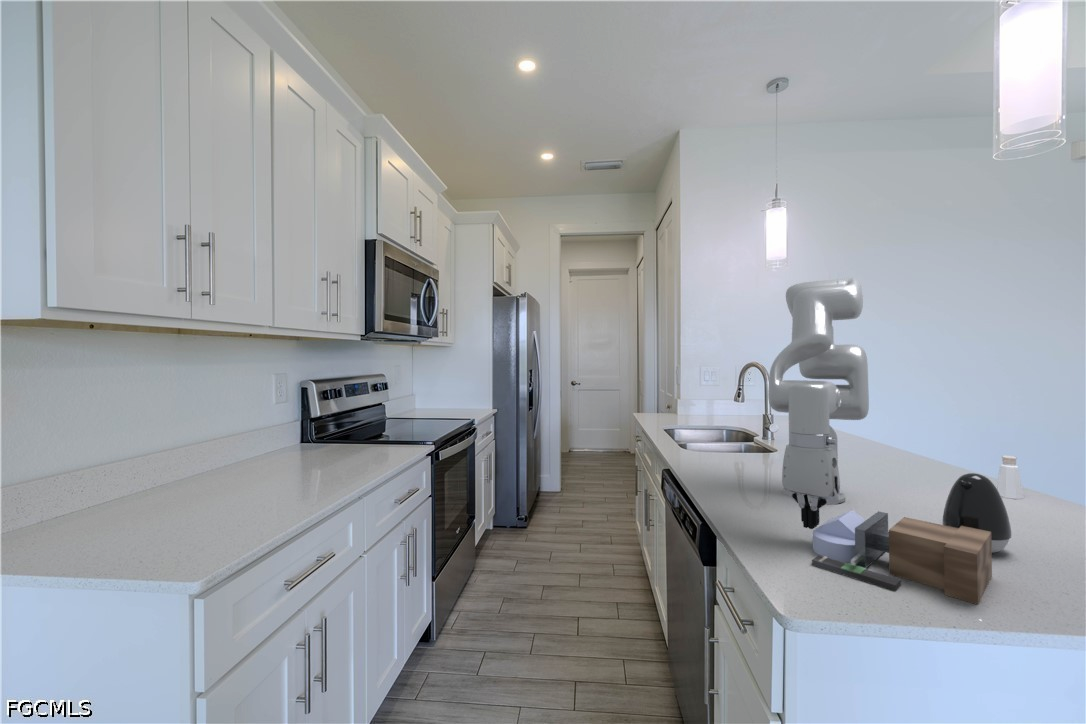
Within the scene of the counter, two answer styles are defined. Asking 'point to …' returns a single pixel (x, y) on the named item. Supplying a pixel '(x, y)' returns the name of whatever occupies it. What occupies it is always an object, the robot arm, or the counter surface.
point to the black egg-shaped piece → (978, 508)
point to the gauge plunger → (871, 539)
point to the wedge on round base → (837, 537)
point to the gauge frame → (930, 559)
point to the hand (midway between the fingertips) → (810, 526)
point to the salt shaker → (1009, 479)
